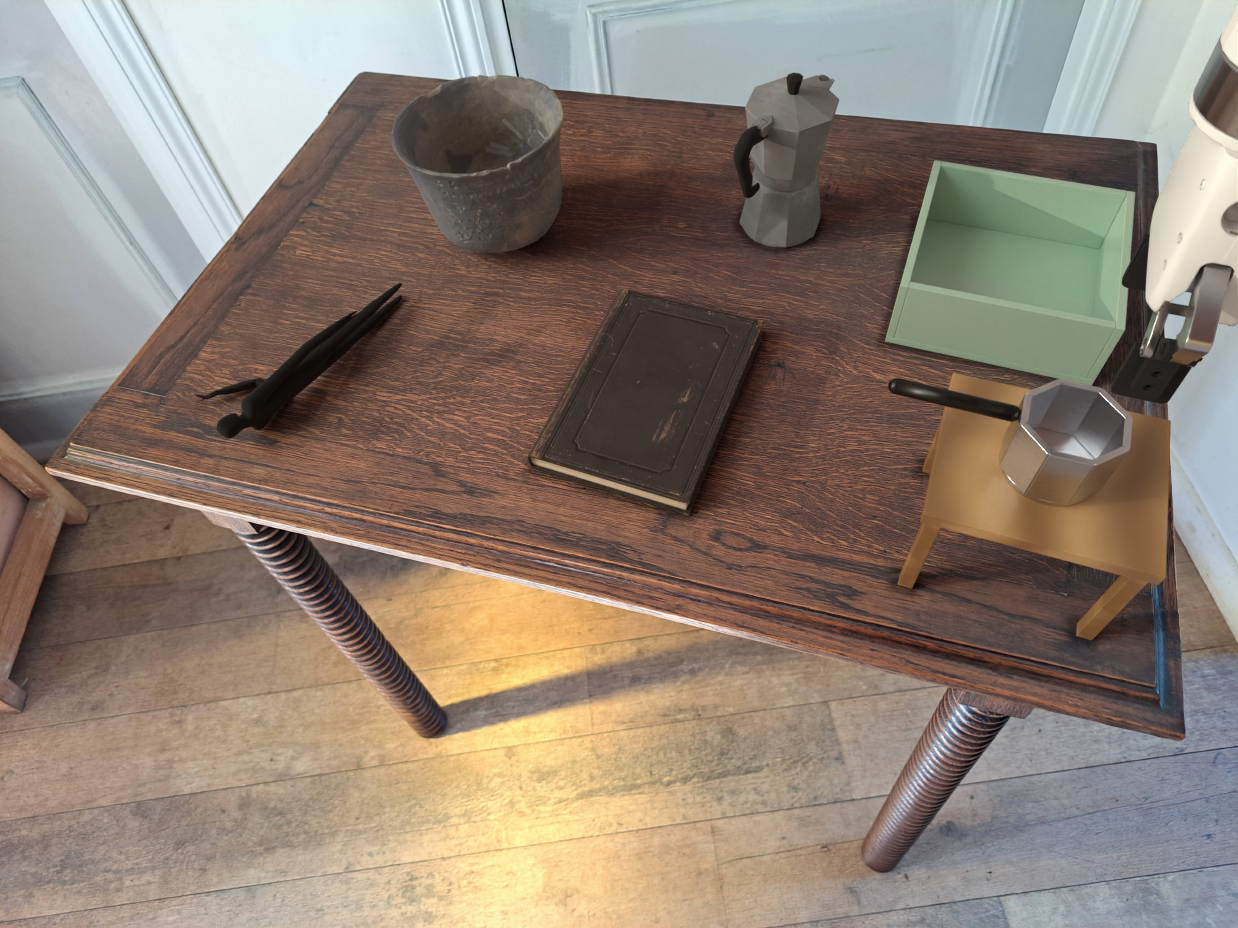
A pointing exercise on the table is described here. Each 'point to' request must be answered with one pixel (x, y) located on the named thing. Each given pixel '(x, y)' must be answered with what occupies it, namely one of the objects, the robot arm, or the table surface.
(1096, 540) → the stand
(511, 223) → the cup
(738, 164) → the coffeepot
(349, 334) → the dark humanoid figurine
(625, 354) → the hardcover book
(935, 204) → the basin
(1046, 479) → the saucepan
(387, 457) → the table surface
